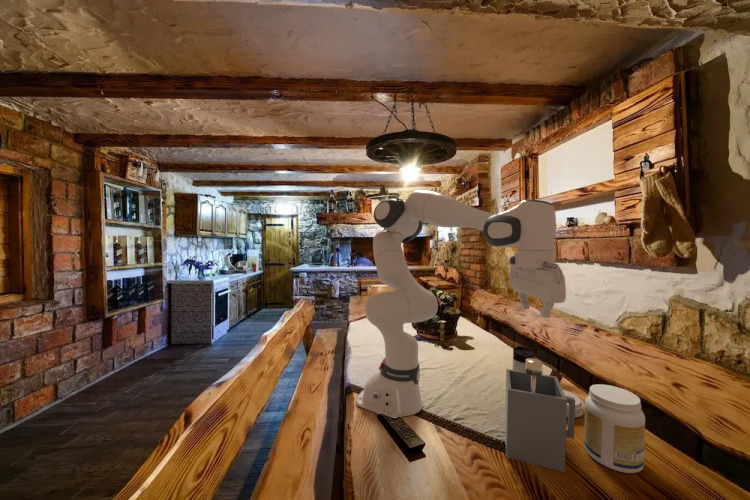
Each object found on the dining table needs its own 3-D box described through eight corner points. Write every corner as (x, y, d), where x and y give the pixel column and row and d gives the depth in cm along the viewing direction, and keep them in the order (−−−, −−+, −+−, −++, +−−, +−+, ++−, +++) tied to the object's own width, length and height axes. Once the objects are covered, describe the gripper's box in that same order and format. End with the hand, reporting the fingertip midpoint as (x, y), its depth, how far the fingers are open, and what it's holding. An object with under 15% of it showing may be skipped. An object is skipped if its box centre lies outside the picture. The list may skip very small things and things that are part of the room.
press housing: (506, 457, 78) (507, 389, 77) (505, 427, 90) (506, 369, 89) (579, 476, 72) (581, 402, 71) (567, 441, 84) (569, 378, 83)
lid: (541, 414, 97) (541, 399, 97) (536, 395, 108) (537, 382, 108) (588, 424, 92) (588, 408, 92) (578, 403, 104) (578, 389, 103)
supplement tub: (647, 459, 77) (649, 394, 76) (639, 484, 69) (642, 413, 68) (590, 435, 86) (592, 377, 86) (577, 455, 78) (579, 392, 78)
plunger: (512, 449, 78) (514, 365, 77) (510, 427, 88) (512, 352, 87) (556, 460, 75) (559, 372, 74) (549, 436, 84) (552, 357, 83)
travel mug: (527, 403, 103) (528, 346, 102) (535, 414, 97) (537, 353, 96) (508, 402, 104) (509, 345, 103) (515, 413, 97) (517, 352, 96)
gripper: (574, 264, 69) (572, 323, 70) (527, 258, 89) (525, 303, 90) (547, 264, 69) (546, 323, 69) (506, 258, 89) (505, 304, 90)
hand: (534, 312), depth 80 cm, fingers open, 8 cm apart
